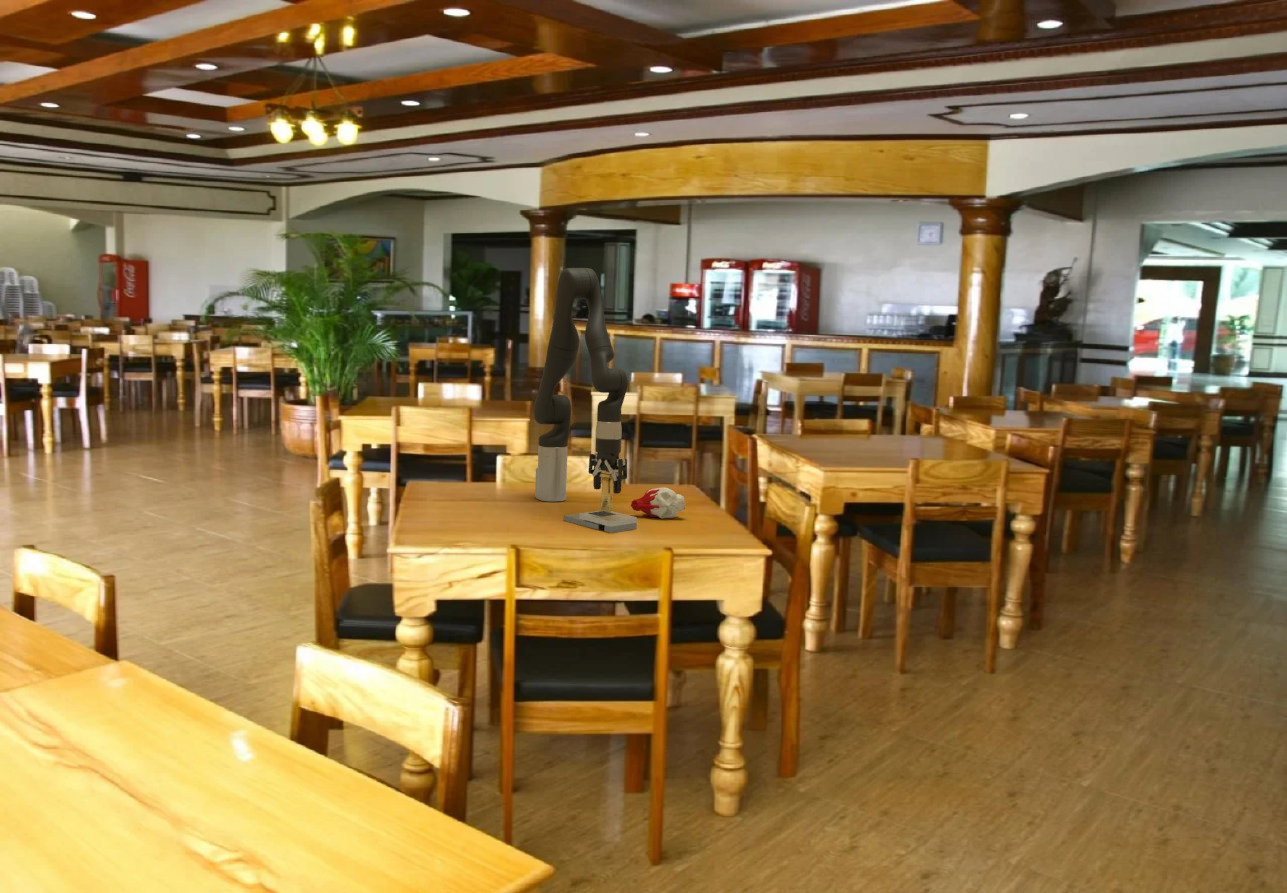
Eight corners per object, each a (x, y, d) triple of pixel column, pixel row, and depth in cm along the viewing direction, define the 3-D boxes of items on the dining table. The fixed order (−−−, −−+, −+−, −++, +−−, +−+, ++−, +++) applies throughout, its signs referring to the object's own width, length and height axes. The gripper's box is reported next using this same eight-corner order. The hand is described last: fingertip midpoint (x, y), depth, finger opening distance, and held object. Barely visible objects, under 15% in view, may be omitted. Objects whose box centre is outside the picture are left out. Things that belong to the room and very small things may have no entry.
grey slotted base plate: (563, 520, 310) (563, 509, 310) (589, 516, 317) (589, 505, 317) (610, 533, 296) (610, 521, 296) (636, 528, 303) (636, 517, 303)
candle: (687, 518, 318) (638, 525, 315) (675, 510, 329) (628, 517, 325) (685, 488, 317) (636, 495, 313) (673, 481, 327) (626, 488, 324)
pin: (596, 516, 318) (597, 473, 316) (606, 514, 321) (608, 471, 319) (605, 518, 315) (607, 475, 313) (616, 517, 318) (617, 473, 316)
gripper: (582, 434, 317) (581, 489, 319) (615, 439, 307) (614, 495, 309) (601, 433, 322) (600, 486, 324) (634, 438, 312) (632, 493, 314)
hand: (607, 491), depth 317 cm, fingers open, 8 cm apart
